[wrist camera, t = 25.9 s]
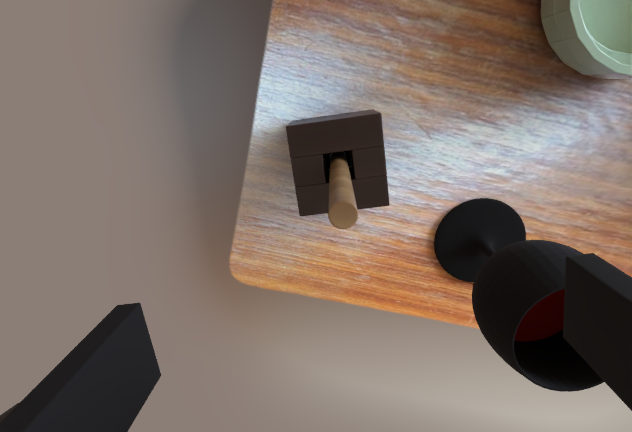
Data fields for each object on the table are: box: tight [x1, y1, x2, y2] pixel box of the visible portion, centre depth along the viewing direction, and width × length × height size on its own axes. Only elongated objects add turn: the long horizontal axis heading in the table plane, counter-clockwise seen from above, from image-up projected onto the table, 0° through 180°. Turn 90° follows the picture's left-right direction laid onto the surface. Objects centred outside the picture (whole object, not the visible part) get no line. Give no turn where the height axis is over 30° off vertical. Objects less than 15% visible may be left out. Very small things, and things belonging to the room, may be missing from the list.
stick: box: [328, 151, 358, 229], centre depth 35 cm, size 2×2×22 cm
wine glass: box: [434, 198, 605, 391], centre depth 39 cm, size 10×10×20 cm
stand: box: [286, 110, 389, 216], centre depth 43 cm, size 9×9×7 cm
